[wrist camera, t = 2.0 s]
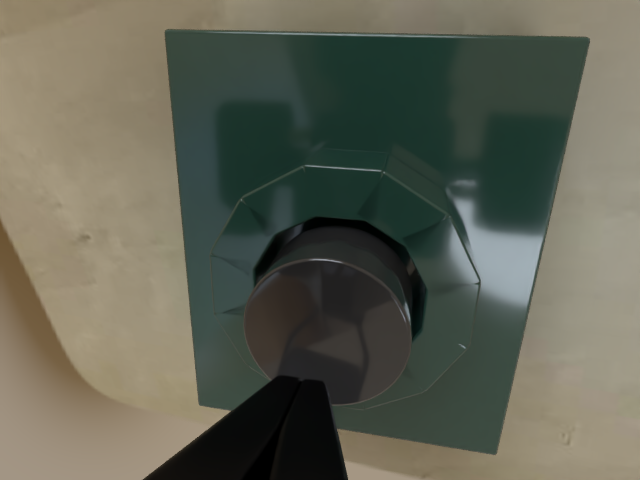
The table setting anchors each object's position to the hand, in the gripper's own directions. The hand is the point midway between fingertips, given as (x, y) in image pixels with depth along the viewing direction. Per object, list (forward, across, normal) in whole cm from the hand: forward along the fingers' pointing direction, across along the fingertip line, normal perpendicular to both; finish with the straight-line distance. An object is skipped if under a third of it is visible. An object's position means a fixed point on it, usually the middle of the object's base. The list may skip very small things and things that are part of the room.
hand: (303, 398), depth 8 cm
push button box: (+10, 0, 0) cm, 10 cm away
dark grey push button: (+4, 0, 0) cm, 4 cm away
